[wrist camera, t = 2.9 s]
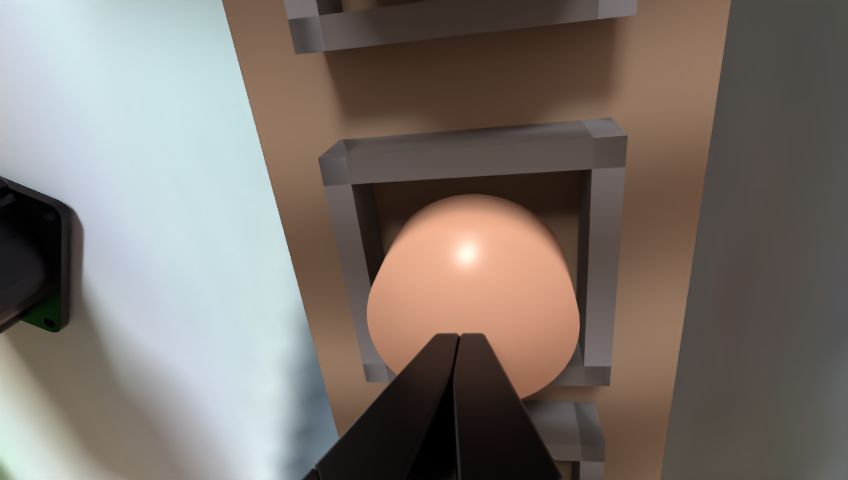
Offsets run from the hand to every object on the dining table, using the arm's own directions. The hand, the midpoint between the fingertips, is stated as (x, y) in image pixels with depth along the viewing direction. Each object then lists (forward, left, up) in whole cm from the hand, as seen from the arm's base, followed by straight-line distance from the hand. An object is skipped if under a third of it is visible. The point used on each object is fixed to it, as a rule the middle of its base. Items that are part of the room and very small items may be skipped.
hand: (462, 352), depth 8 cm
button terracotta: (0, 0, -3) cm, 3 cm away
